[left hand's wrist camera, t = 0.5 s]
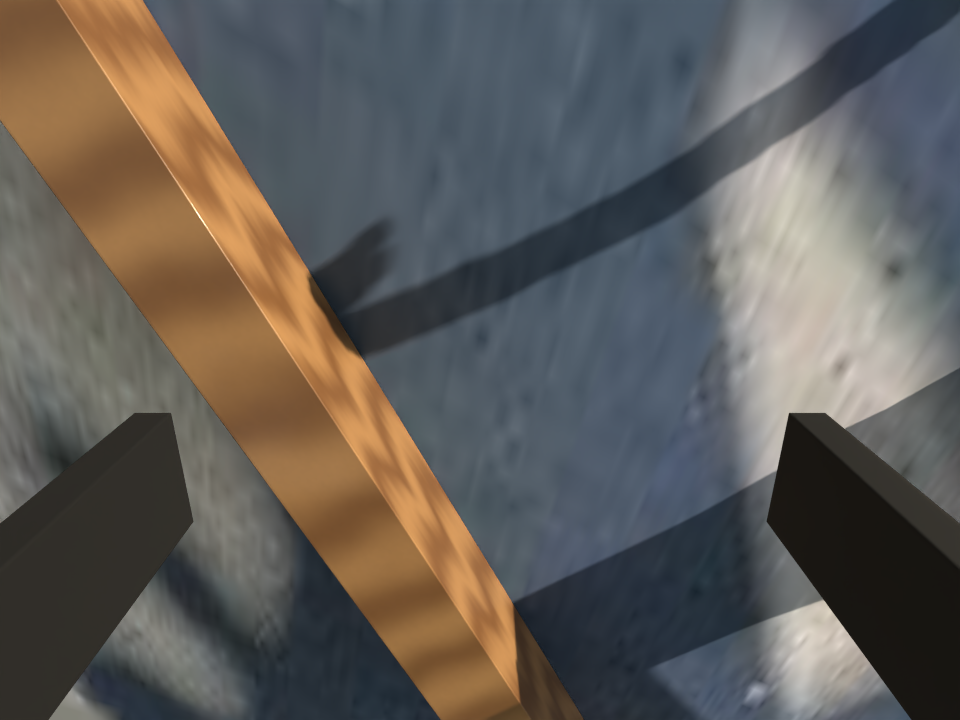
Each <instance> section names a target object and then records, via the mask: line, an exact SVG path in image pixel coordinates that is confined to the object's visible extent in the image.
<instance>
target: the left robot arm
mask: <svg viewBox="0 0 960 720" xmlns="http://www.w3.org/2000/svg"><path fill="white" fill-rule="evenodd" d="M192 523H193V518H192V513H191V508H190V503H189V498H188V493H187V489H186V484H185V479H184V474H183V469H182V464H181V460H180V455H179V450H178V445H177V440H176V435H175V431H174V426H173V421H172V416H171V413H134V414H133V415H132V416H131V417H129V418H128V419H127V420H126V421H125V422H123V423H122V424H121V425H120V426H118V427H117V428H116V429H115V430H114V431H112V432H111V433H110V434H109V435H108V436H106V437H105V438H104V439H103V440H101V441H100V442H99V443H98V444H97V445H95V446H94V447H93V448H92V449H90V450H89V451H88V452H87V453H86V454H84V455H83V456H82V457H81V458H80V459H78V460H77V461H76V462H75V463H73V464H72V465H71V466H70V467H69V468H67V469H66V470H65V471H64V472H62V473H61V474H60V475H59V476H58V477H56V478H55V479H54V480H53V481H52V482H50V483H49V484H48V485H47V486H45V487H44V488H43V489H42V490H41V491H39V492H38V493H37V494H36V495H34V496H33V497H32V498H31V499H30V500H28V501H27V502H26V503H25V504H24V505H22V506H21V507H20V508H19V509H17V510H16V511H15V512H14V513H13V514H11V515H10V516H9V517H8V518H6V519H5V520H4V521H3V522H2V523H0V720H49V718H50V717H51V716H52V714H53V713H54V711H55V710H56V709H57V707H58V706H59V705H60V703H61V702H62V701H63V699H64V698H65V696H66V695H67V694H68V692H69V691H70V690H71V688H72V687H73V685H74V684H75V683H76V681H77V680H78V679H79V677H80V676H81V675H82V673H83V672H84V670H85V669H86V668H87V666H88V665H89V664H90V662H91V661H92V659H93V658H94V657H95V655H96V654H97V653H98V651H99V650H100V649H101V647H102V646H103V644H104V643H105V642H106V640H107V639H108V638H109V636H110V635H111V633H112V632H113V631H114V629H115V628H116V627H117V625H118V624H119V623H120V621H121V620H122V618H123V617H124V616H125V614H126V613H127V612H128V610H129V609H130V608H131V606H132V605H133V603H134V602H135V601H136V599H137V598H138V597H139V595H140V594H141V592H142V591H143V590H144V588H145V587H146V586H147V584H148V583H149V582H150V580H151V579H152V577H153V576H154V575H155V573H156V572H157V571H158V569H159V568H160V566H161V565H162V564H163V562H164V561H165V560H166V558H167V557H168V556H169V554H170V553H171V551H172V550H173V549H174V547H175V546H176V545H177V543H178V542H179V540H180V539H181V538H182V536H183V535H184V534H185V532H186V531H187V530H188V528H189V527H190V525H191V524H192ZM767 523H768V524H769V525H770V527H771V528H772V530H773V531H774V532H775V534H776V535H777V536H778V538H779V539H780V541H781V542H782V543H783V545H784V546H785V547H786V549H787V550H788V551H789V553H790V554H791V556H792V557H793V558H794V560H795V561H796V562H797V564H798V565H799V566H800V568H801V569H802V571H803V572H804V573H805V575H806V576H807V577H808V579H809V580H810V582H811V583H812V584H813V586H814V587H815V588H816V590H817V591H818V592H819V594H820V595H821V597H822V598H823V599H824V601H825V602H826V603H827V605H828V606H829V608H830V609H831V610H832V612H833V613H834V614H835V616H836V617H837V618H838V620H839V621H840V623H841V624H842V625H843V627H844V628H845V629H846V631H847V632H848V634H849V635H850V636H851V638H852V639H853V640H854V642H855V643H856V644H857V646H858V647H859V649H860V650H861V651H862V653H863V654H864V655H865V657H866V658H867V659H868V661H869V662H870V664H871V665H872V666H873V668H874V669H875V670H876V672H877V673H878V675H879V676H880V677H881V679H882V680H883V681H884V683H885V684H886V685H887V687H888V688H889V690H890V691H891V692H892V694H893V695H894V696H895V698H896V699H897V701H898V702H899V703H900V705H901V706H902V707H903V709H904V710H905V711H906V713H907V714H908V716H909V717H910V718H911V720H960V523H958V522H957V521H956V520H955V519H954V518H952V517H951V516H950V515H949V514H947V513H946V512H945V511H944V510H943V509H941V508H940V507H939V506H938V505H936V504H935V503H934V502H933V501H932V500H930V499H929V498H928V497H927V496H926V495H924V494H923V493H922V492H921V491H919V490H918V489H917V488H916V487H915V486H913V485H912V484H911V483H910V482H908V481H907V480H906V479H905V478H904V477H902V476H901V475H900V474H899V473H898V472H896V471H895V470H894V469H893V468H891V467H890V466H889V465H888V464H887V463H885V462H884V461H883V460H882V459H880V458H879V457H878V456H877V455H876V454H874V453H873V452H872V451H871V450H870V449H868V448H867V447H866V446H865V445H863V444H862V443H861V442H860V441H859V440H857V439H856V438H855V437H854V436H852V435H851V434H850V433H849V432H848V431H846V430H845V429H844V428H843V427H842V426H840V425H839V424H838V423H837V422H835V421H834V420H833V419H832V418H831V417H829V416H828V415H827V414H826V413H789V416H788V421H787V426H786V431H785V435H784V440H783V445H782V450H781V455H780V460H779V464H778V469H777V474H776V479H775V484H774V489H773V493H772V498H771V503H770V508H769V513H768V518H767Z"/></svg>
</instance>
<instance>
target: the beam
mask: <svg viewBox="0 0 960 720" xmlns="http://www.w3.org/2000/svg"><path fill="white" fill-rule="evenodd" d="M0 121H1V122H2V124H3V125H4V126H5V128H6V129H7V130H8V132H9V133H10V135H11V136H12V137H13V139H14V140H15V141H16V143H17V144H18V145H19V147H20V148H21V150H22V151H23V152H24V154H25V155H26V156H27V158H28V159H29V160H30V162H31V163H32V164H33V166H34V167H35V169H36V170H37V171H38V173H39V174H40V175H41V177H42V178H43V179H44V181H45V182H46V184H47V185H48V186H49V188H50V189H51V190H52V192H53V193H54V194H55V196H56V197H57V198H58V200H59V201H60V203H61V204H62V205H63V207H64V208H65V209H66V211H67V212H68V213H69V215H70V216H71V218H72V219H73V220H74V222H75V223H76V224H77V226H78V227H79V228H80V230H81V231H82V232H83V234H84V235H85V237H86V238H87V239H88V241H89V242H90V243H91V245H92V246H93V247H94V249H95V250H96V252H97V253H98V254H99V256H100V257H101V258H102V260H103V261H104V262H105V264H106V265H107V266H108V268H109V269H110V271H111V272H112V273H113V275H114V276H115V277H116V279H117V280H118V281H119V283H120V284H121V286H122V287H123V288H124V290H125V291H126V292H127V294H128V295H129V296H130V298H131V299H132V300H133V302H134V303H135V305H136V306H137V307H138V309H139V310H140V311H141V313H142V314H143V315H144V317H145V318H146V320H147V321H148V322H149V324H150V325H151V326H152V328H153V329H154V330H155V332H156V333H157V334H158V336H159V337H160V339H161V340H162V341H163V343H164V344H165V345H166V347H167V348H168V349H169V351H170V352H171V354H172V355H173V356H174V358H175V359H176V360H177V362H178V363H179V364H180V366H181V367H182V368H183V370H184V371H185V373H186V374H187V375H188V377H189V378H190V379H191V381H192V382H193V383H194V385H195V386H196V388H197V389H198V390H199V392H200V393H201V394H202V396H203V397H204V398H205V400H206V401H207V402H208V404H209V405H210V407H211V408H212V409H213V411H214V412H215V413H216V415H217V416H218V417H219V419H220V420H221V422H222V423H223V424H224V426H225V427H226V428H227V430H228V431H229V432H230V434H231V435H232V436H233V438H234V439H235V441H236V442H237V443H238V445H239V446H240V447H241V449H242V450H243V451H244V453H245V454H246V456H247V457H248V458H249V460H250V461H251V462H252V464H253V465H254V466H255V468H256V469H257V470H258V472H259V473H260V475H261V476H262V477H263V479H264V480H265V481H266V483H267V484H268V485H269V487H270V488H271V490H272V491H273V492H274V494H275V495H276V496H277V498H278V499H279V500H280V502H281V503H282V504H283V506H284V507H285V509H286V510H287V511H288V513H289V514H290V515H291V517H292V518H293V519H294V521H295V522H296V524H297V525H298V526H299V528H300V529H301V530H302V532H303V533H304V534H305V536H306V537H307V538H308V540H309V541H310V543H311V544H312V545H313V547H314V548H315V549H316V551H317V552H318V553H319V555H320V556H321V558H322V559H323V560H324V562H325V563H326V564H327V566H328V567H329V568H330V570H331V571H332V572H333V574H334V575H335V577H336V578H337V579H338V581H339V582H340V583H341V585H342V586H343V587H344V589H345V590H346V592H347V593H348V594H349V596H350V597H351V598H352V600H353V601H354V602H355V604H356V605H357V606H358V608H359V609H360V611H361V612H362V613H363V615H364V616H365V617H366V619H367V620H368V621H369V623H370V624H371V626H372V627H373V628H374V630H375V631H376V632H377V634H378V635H379V636H380V638H381V639H382V640H383V642H384V643H385V645H386V646H387V647H388V649H389V650H390V651H391V653H392V654H393V655H394V657H395V658H396V660H397V661H398V662H399V664H400V665H401V666H402V668H403V669H404V670H405V672H406V673H407V675H408V676H409V677H410V679H411V680H412V681H413V683H414V684H415V685H416V687H417V688H418V689H419V691H420V692H421V694H422V695H423V696H424V698H425V699H426V700H427V702H428V703H429V704H430V706H431V707H432V709H433V710H434V711H435V713H436V714H437V715H438V717H439V718H440V719H441V720H584V719H583V717H582V716H581V714H580V712H579V711H578V709H577V707H576V706H575V704H574V703H573V701H572V699H571V698H570V696H569V694H568V693H567V691H566V690H565V688H564V686H563V685H562V683H561V681H560V680H559V678H558V676H557V675H556V673H555V672H554V670H553V668H552V667H551V665H550V663H549V662H548V660H547V659H546V657H545V655H544V654H543V652H542V650H541V649H540V647H539V646H538V644H537V642H536V641H535V639H534V637H533V636H532V634H531V633H530V631H529V629H528V628H527V626H526V624H525V623H524V621H523V619H522V618H521V616H520V615H519V613H518V611H517V610H516V608H515V606H514V605H513V603H512V602H511V600H510V598H509V597H508V595H507V593H506V592H505V590H504V589H503V587H502V585H501V584H500V582H499V580H498V579H497V577H496V575H495V574H494V572H493V571H492V569H491V567H490V566H489V564H488V562H487V561H486V559H485V558H484V556H483V554H482V553H481V551H480V549H479V548H478V546H477V545H476V543H475V541H474V540H473V538H472V536H471V535H470V533H469V531H468V530H467V528H466V527H465V525H464V523H463V522H462V520H461V518H460V517H459V515H458V514H457V512H456V510H455V509H454V507H453V505H452V504H451V502H450V501H449V499H448V497H447V496H446V494H445V492H444V491H443V489H442V487H441V486H440V484H439V483H438V481H437V479H436V478H435V476H434V474H433V473H432V471H431V470H430V468H429V466H428V465H427V463H426V461H425V460H424V458H423V457H422V455H421V453H420V452H419V450H418V448H417V447H416V445H415V444H414V442H413V440H412V439H411V437H410V435H409V434H408V432H407V430H406V429H405V427H404V426H403V424H402V422H401V421H400V419H399V417H398V416H397V414H396V413H395V411H394V409H393V408H392V406H391V404H390V403H389V401H388V400H387V398H386V396H385V395H384V393H383V391H382V390H381V388H380V386H379V385H378V383H377V382H376V380H375V378H374V377H373V375H372V373H371V372H370V370H369V369H368V367H367V365H366V364H365V362H364V360H363V359H362V357H361V356H360V354H359V352H358V351H357V349H356V347H355V346H354V344H353V342H352V341H351V339H350V338H349V336H348V334H347V333H346V331H345V329H344V328H343V326H342V325H341V323H340V321H339V320H338V318H337V316H336V315H335V313H334V312H333V310H332V308H331V307H330V305H329V303H328V302H327V300H326V298H325V297H324V295H323V294H322V292H321V290H320V289H319V287H318V285H317V284H316V282H315V281H314V279H313V277H312V276H311V274H310V272H309V271H308V269H307V268H306V266H305V264H304V263H303V261H302V259H301V258H300V256H299V254H298V253H297V251H296V250H295V248H294V246H293V245H292V243H291V241H290V240H289V238H288V237H287V235H286V233H285V232H284V230H283V228H282V227H281V225H280V224H279V222H278V220H277V219H276V217H275V215H274V214H273V212H272V211H271V209H270V207H269V206H268V204H267V202H266V201H265V199H264V197H263V196H262V194H261V193H260V191H259V189H258V188H257V186H256V184H255V183H254V181H253V180H252V178H251V176H250V175H249V173H248V171H247V170H246V168H245V167H244V165H243V163H242V162H241V160H240V158H239V157H238V155H237V153H236V152H235V150H234V149H233V147H232V145H231V144H230V142H229V140H228V139H227V137H226V136H225V134H224V132H223V131H222V129H221V127H220V126H219V124H218V123H217V121H216V119H215V118H214V116H213V114H212V113H211V111H210V109H209V108H208V106H207V105H206V103H205V101H204V100H203V98H202V96H201V95H200V93H199V92H198V90H197V88H196V87H195V85H194V83H193V82H192V80H191V79H190V77H189V75H188V74H187V72H186V70H185V69H184V67H183V65H182V64H181V62H180V61H179V59H178V57H177V56H176V54H175V52H174V51H173V49H172V48H171V46H170V44H169V43H168V41H167V39H166V38H165V36H164V35H163V33H162V31H161V30H160V28H159V26H158V25H157V23H156V21H155V20H154V18H153V17H152V15H151V13H150V12H149V10H148V8H147V7H146V5H145V4H144V2H143V0H0Z"/></svg>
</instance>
